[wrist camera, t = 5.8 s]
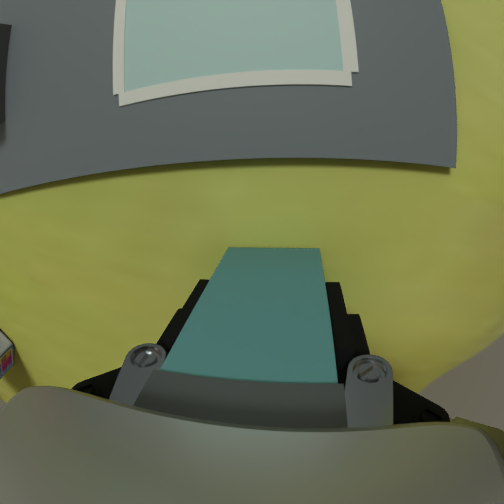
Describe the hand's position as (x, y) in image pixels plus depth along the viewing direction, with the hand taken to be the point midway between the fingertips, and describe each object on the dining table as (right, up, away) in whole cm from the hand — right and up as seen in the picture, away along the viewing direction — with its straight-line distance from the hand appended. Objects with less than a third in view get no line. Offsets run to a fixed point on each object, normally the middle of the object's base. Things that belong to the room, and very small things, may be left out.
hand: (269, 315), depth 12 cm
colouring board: (-7, +14, -2) cm, 16 cm away
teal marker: (0, +1, +2) cm, 2 cm away
